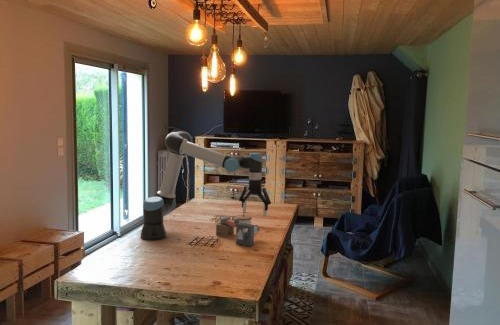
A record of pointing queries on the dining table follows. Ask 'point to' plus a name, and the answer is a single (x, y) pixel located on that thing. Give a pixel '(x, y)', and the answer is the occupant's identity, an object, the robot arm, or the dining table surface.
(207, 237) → the dining table surface
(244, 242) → the dark boxy piece
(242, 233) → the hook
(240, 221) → the lidded jar
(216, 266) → the dining table surface
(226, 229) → the tan square block
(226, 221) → the ball ended rod
